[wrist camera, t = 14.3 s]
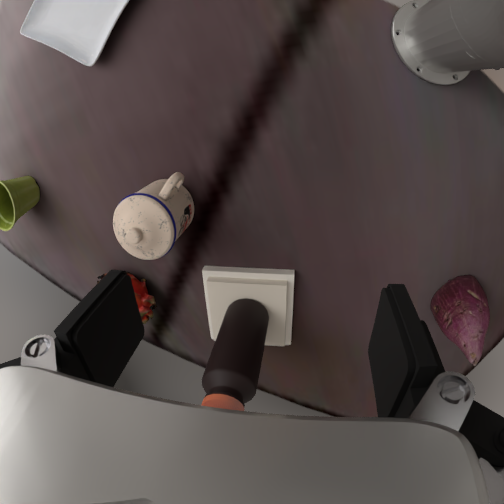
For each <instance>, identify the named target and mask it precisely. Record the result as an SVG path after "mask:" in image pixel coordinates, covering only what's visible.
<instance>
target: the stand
mask: <svg viewBox="0 0 504 504" xmlns="http://www.w3.org/2000/svg"><path fill="white" fill-rule="evenodd" d="M294 273H295V270H287V269H264V268H242V267H221V266H204V268H203V270H202V274H203V282H204V290H205V297H206V305H207V312H208V320H209V327H210V334H211V339H214V341H216V338H217V335H218V333H219V330H220V327H221V324H222V322H223V319H224V316H225V313H226V310H227V308H228V306H229V305H230V304H231V303H232V302H234V301H236V300H238V299H245V298H246V299H253V300H255V301H257V302H259V303H261V304H262V305H263V306H264V307H265V308H266V310H267V311H268V315H269V322H268V328H267V334H266V340H265V345H271V346H285V345H291V335H292V317H293V296H294Z"/></svg>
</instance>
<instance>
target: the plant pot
mask: <svg viewBox="0 0 504 504" xmlns="http://www.w3.org/2000/svg"><path fill="white" fill-rule="evenodd" d="M39 198H40V191H39V187H38V185H37V184H36V182H35V179H34V178H32V177H31V176H24V177H20V178H15V179H11V180H6V181H0V229H1V230H3V231H8V230H10V229H12V227H13V226H14V224H15V223H16V221H17V220H18V219H19V218H20V217H21V216H22V215H24V214H25V213H26V212H27V211H29V210H30V209H31V208H32V207H34V206H35V205H36V204H37V203H38V201H39Z"/></svg>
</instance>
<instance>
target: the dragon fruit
mask: <svg viewBox="0 0 504 504" xmlns="http://www.w3.org/2000/svg"><path fill="white" fill-rule="evenodd" d="M126 273H127V272H126ZM106 274H107V273H106ZM106 274H103V275H101V276H99V277H98V279H99V278H101V280H102V279H103V277H104V276H105V275H106ZM127 275H129V276H130V277H131V281H132V285H133V289H134V293H135V297H136V301H137V304H138V308H139V312H140V316H141V319H142V323H143V324H146V322H147V321H148V320H149V318H148V317H151V319H153V311H152V310H153V309H155V308H156V307H157V306H156V304H155V302H156V301H155V299H154V296H151V295H148V291H147V288H146V280H145V279H144V278H143V279H141V282H140V281H139V280H138V279H137V278H135V277H134V276H133V275H132V274H131V273H127ZM101 280H100V281H101ZM100 281H97V284H98V283H99V282H100ZM152 305H153V308H152V310H151V309H150V307H151V306H152Z"/></svg>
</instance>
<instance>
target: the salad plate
mask: <svg viewBox="0 0 504 504" xmlns="http://www.w3.org/2000/svg"><path fill="white" fill-rule="evenodd" d="M129 1H130V0H34V2H33V4H32V6H31V8H30V10H29V12H28V14H27V16H26V18H25V20H24V23H23V25H22V27H21V29H20V33H21V34H22V35H23V36H26V37H28V38H31V39H33V40H36V41H38V42H41V43H43V44H45V45H48V46H50V47H52V48H54V49H56V50H58V51H60V52H62V53H64V54H66V55H67V56H69V57H71V58H73V59H74V60H76V61H78V62H80V63H82V64H84V65H86V66H93V65H94V64H95V63H96V62H97V60H98V59H99V57H100V55H101V53H102V50H103V48H104V46H105V44H106V42H107V40H108V38H109V36H110V33H111V31H112V30H113V28H114V26H115V24H116V22H117V20H118V19H119V17H120V15H121V13H122V12H123V10H124V8H125V7H126V5H127V4H128V2H129Z"/></svg>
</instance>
